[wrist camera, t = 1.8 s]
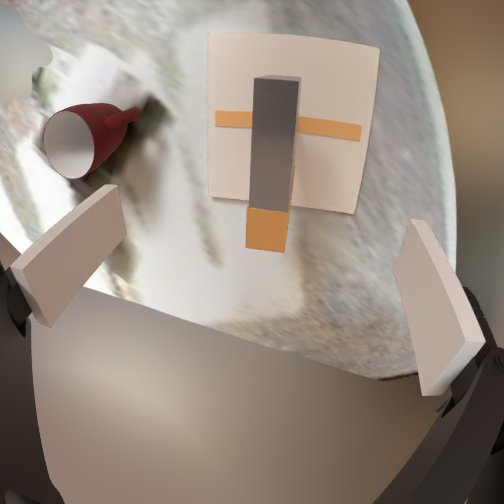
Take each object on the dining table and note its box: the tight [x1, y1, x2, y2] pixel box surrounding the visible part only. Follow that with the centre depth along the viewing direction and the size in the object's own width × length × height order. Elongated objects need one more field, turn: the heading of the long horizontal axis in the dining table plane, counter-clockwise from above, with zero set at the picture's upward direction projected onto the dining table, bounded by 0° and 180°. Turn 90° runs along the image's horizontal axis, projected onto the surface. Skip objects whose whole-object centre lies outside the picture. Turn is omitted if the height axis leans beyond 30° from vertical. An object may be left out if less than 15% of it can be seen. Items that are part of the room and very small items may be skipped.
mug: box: [44, 103, 140, 179], centre depth 30 cm, size 11×8×10 cm
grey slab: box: [246, 75, 302, 253], centre depth 21 cm, size 11×3×9 cm, turn 178°
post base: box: [207, 33, 380, 214], centre depth 28 cm, size 20×18×8 cm
